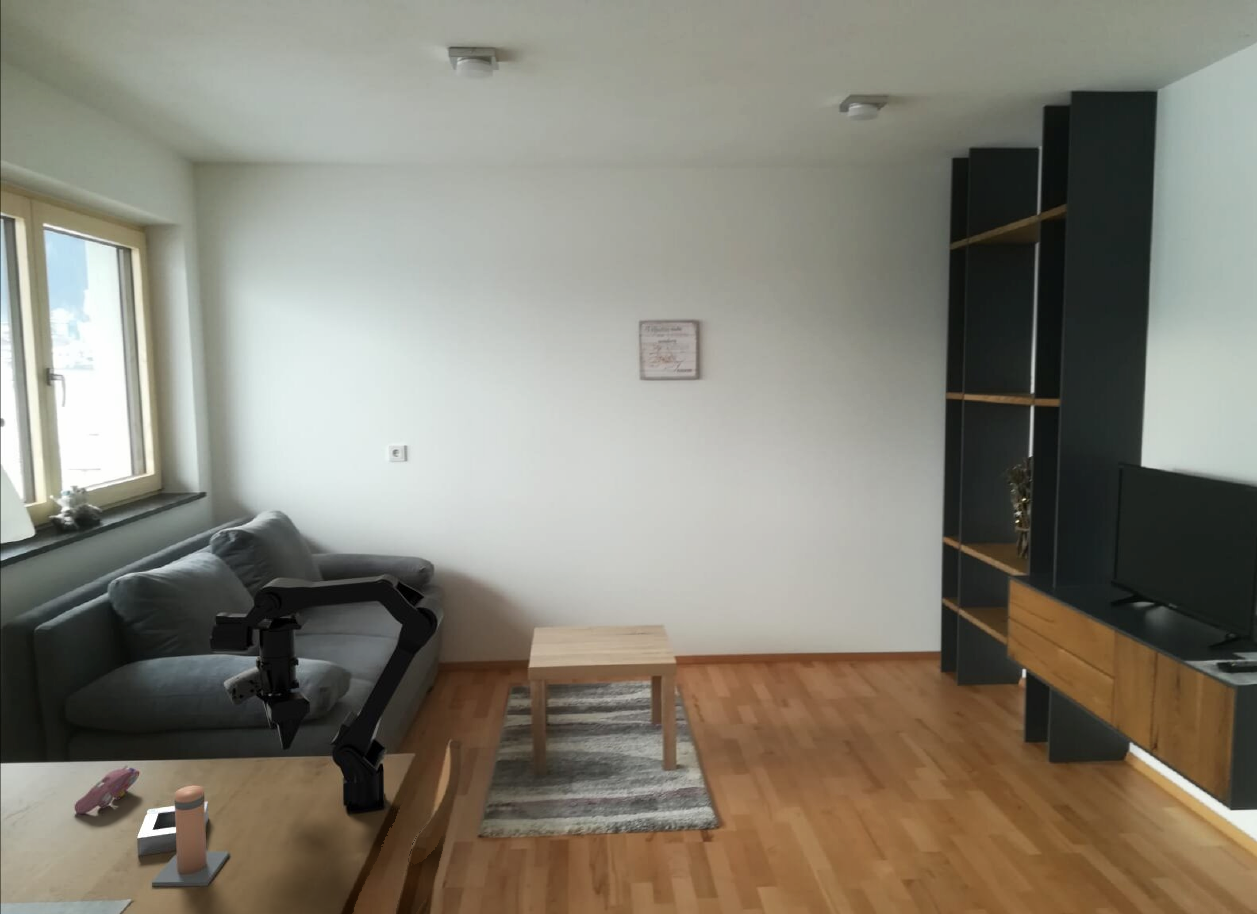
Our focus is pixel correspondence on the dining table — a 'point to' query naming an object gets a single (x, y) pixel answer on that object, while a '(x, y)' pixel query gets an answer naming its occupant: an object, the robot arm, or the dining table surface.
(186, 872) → the pin
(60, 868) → the dining table surface
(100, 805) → the video game controller
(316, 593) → the robot arm
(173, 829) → the eye block
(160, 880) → the mat
